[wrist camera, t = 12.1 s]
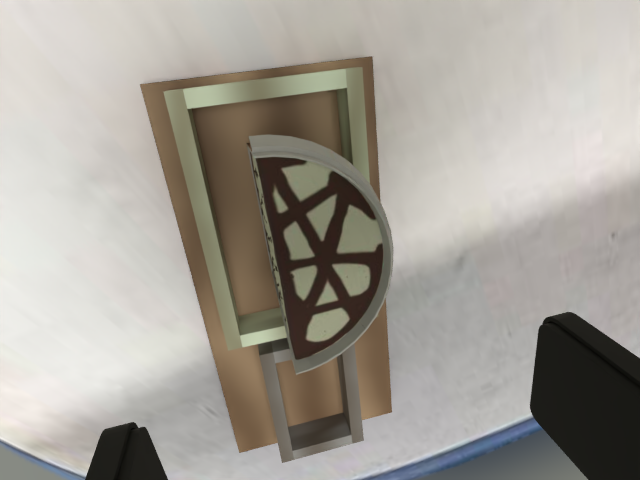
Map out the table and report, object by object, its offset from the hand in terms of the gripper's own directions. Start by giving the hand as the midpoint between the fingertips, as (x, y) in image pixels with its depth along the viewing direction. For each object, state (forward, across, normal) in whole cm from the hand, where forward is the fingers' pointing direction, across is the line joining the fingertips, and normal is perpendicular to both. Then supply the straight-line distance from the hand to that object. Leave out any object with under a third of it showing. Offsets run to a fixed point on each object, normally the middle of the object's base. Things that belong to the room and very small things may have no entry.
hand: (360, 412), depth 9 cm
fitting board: (+21, 0, +8) cm, 22 cm away
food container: (+20, -2, +1) cm, 20 cm away
